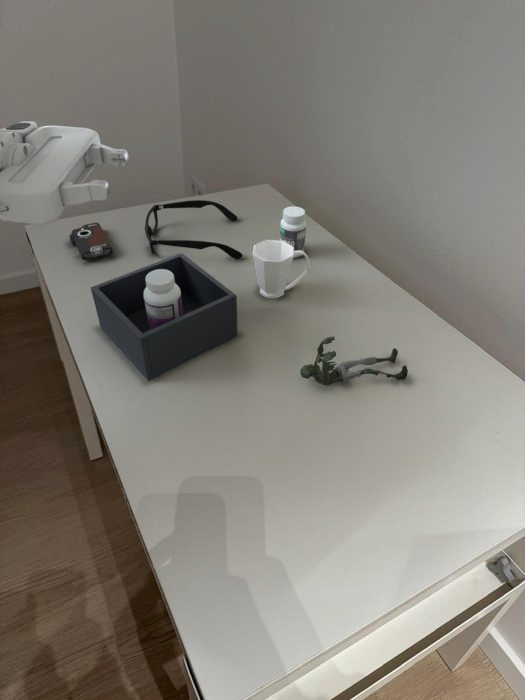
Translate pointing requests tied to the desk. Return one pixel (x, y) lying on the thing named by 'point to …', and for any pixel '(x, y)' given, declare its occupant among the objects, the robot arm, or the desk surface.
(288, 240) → the pill bottle
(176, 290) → the pill bottle
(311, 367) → the zombie figurine
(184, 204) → the glasses
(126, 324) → the bin
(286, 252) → the cup
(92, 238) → the camera
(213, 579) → the desk surface
